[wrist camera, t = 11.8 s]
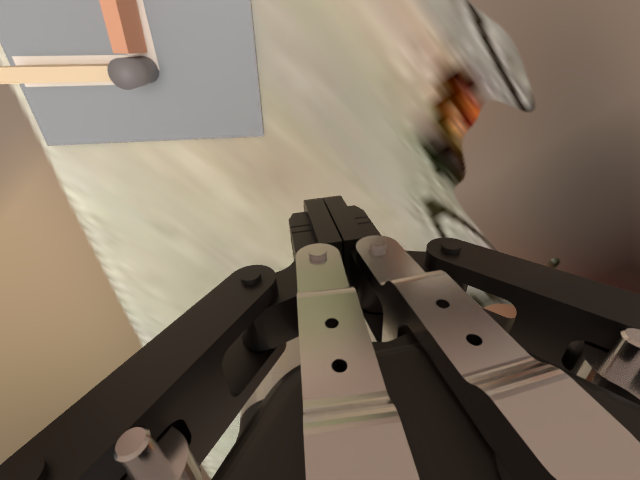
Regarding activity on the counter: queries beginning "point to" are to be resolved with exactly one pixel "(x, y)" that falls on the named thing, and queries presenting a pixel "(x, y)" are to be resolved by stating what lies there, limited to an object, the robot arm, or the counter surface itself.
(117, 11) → the salmon long narrow block
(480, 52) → the counter surface
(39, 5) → the slate board
